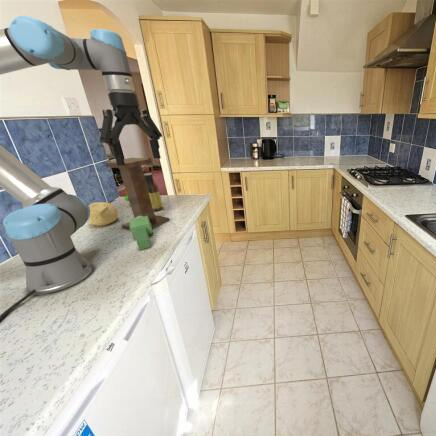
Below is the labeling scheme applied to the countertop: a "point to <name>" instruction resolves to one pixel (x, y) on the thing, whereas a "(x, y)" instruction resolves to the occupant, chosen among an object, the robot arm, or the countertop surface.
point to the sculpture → (102, 213)
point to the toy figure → (141, 231)
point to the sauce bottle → (153, 192)
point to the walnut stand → (137, 190)
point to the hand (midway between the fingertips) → (140, 161)
